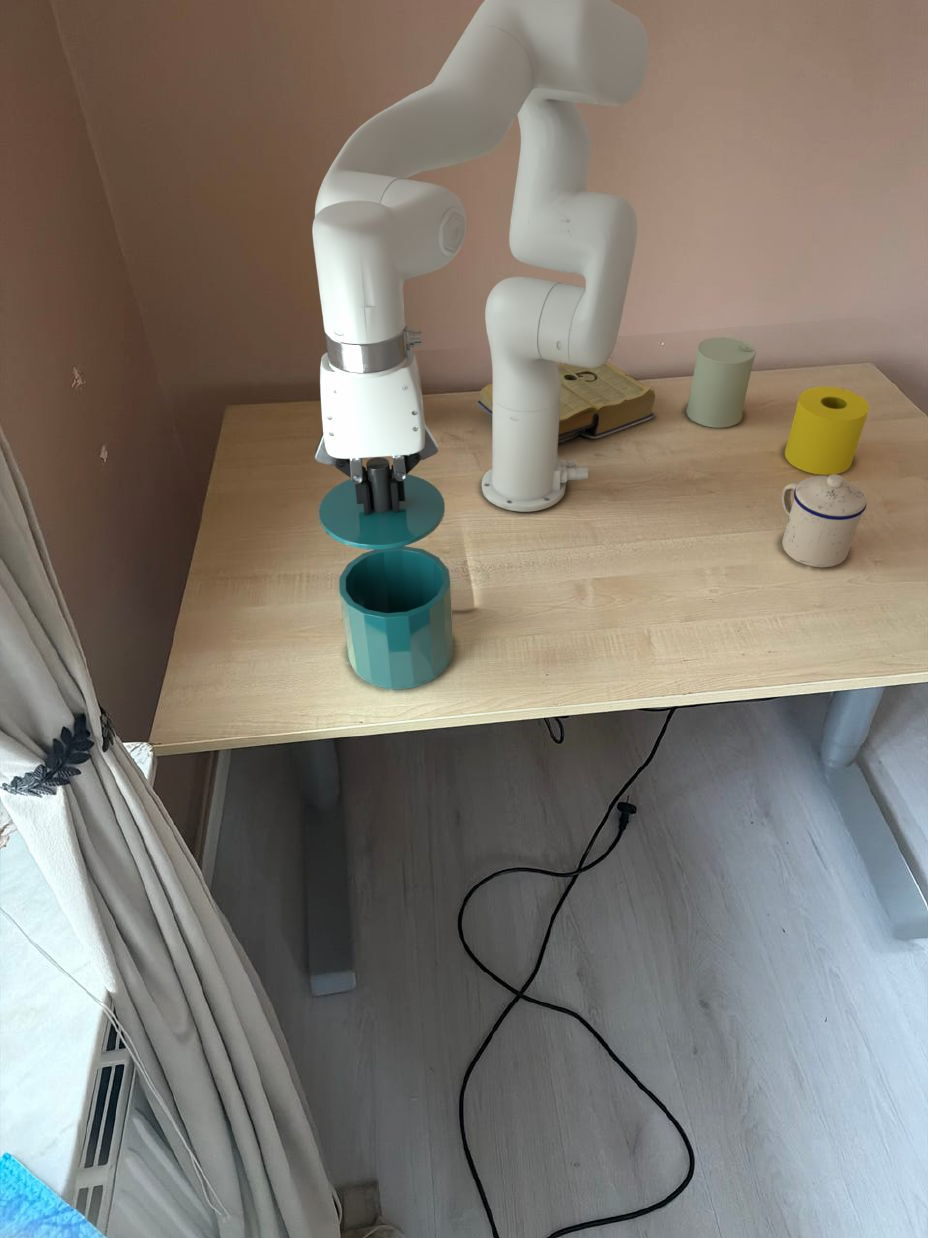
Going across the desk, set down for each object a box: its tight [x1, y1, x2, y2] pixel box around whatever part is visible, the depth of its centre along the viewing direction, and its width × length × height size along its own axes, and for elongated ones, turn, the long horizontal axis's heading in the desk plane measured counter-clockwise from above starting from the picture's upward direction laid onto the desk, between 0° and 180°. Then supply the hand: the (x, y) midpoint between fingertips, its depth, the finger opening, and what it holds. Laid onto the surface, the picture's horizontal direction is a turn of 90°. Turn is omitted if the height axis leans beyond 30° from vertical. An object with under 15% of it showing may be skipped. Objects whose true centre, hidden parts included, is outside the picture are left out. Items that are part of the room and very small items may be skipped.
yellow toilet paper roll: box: [784, 386, 870, 476], centre depth 137 cm, size 10×10×9 cm
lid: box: [318, 457, 446, 550], centre depth 95 cm, size 14×14×7 cm
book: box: [476, 360, 656, 444], centre depth 148 cm, size 25×17×6 cm
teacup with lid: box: [781, 474, 868, 568], centre depth 120 cm, size 12×9×12 cm
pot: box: [338, 545, 454, 690], centre depth 106 cm, size 13×13×12 cm
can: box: [685, 336, 756, 429], centre depth 147 cm, size 9×9×12 cm
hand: (381, 505), depth 97 cm, fingers closed on lid, 2 cm apart
